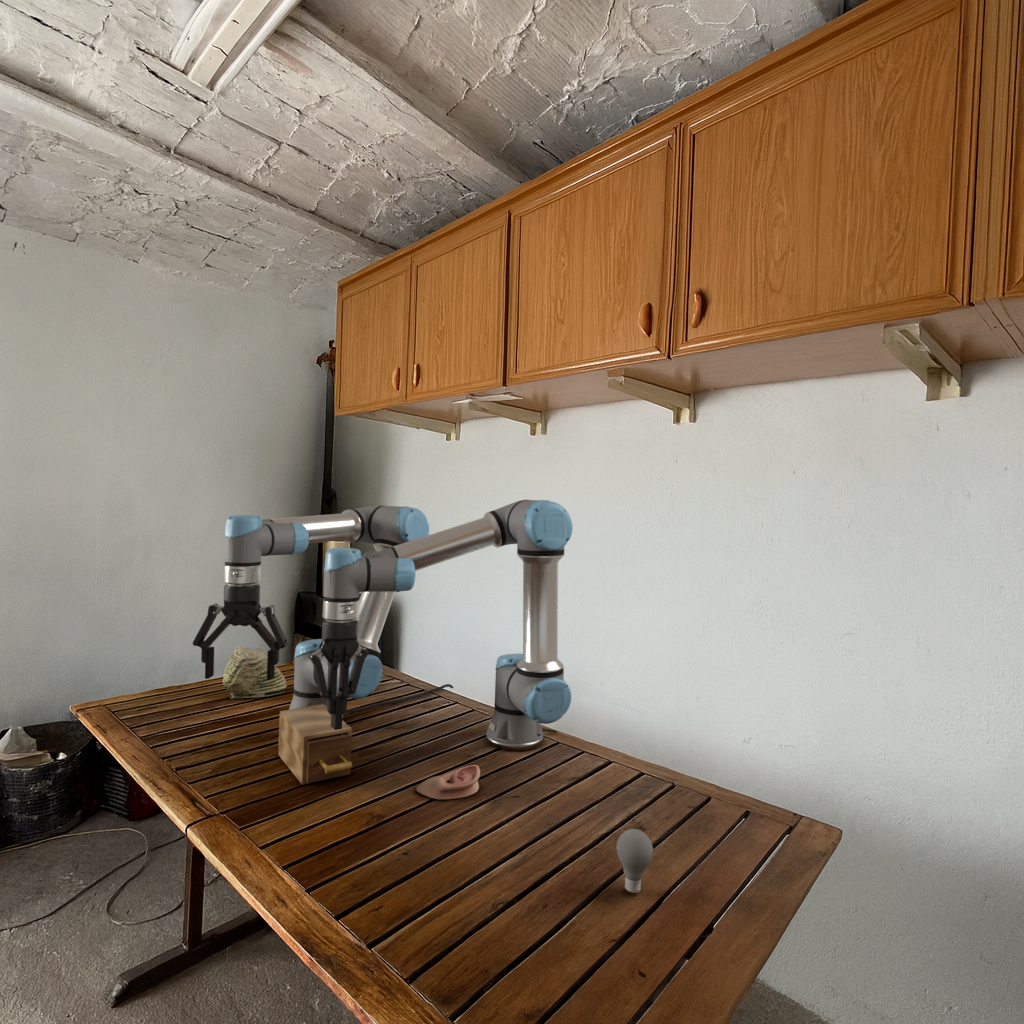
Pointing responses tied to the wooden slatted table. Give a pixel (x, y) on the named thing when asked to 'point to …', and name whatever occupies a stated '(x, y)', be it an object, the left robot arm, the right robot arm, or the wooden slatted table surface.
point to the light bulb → (634, 857)
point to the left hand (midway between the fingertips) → (240, 678)
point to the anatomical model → (452, 784)
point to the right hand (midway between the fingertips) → (336, 727)
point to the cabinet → (303, 735)
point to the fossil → (251, 675)
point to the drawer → (328, 757)
